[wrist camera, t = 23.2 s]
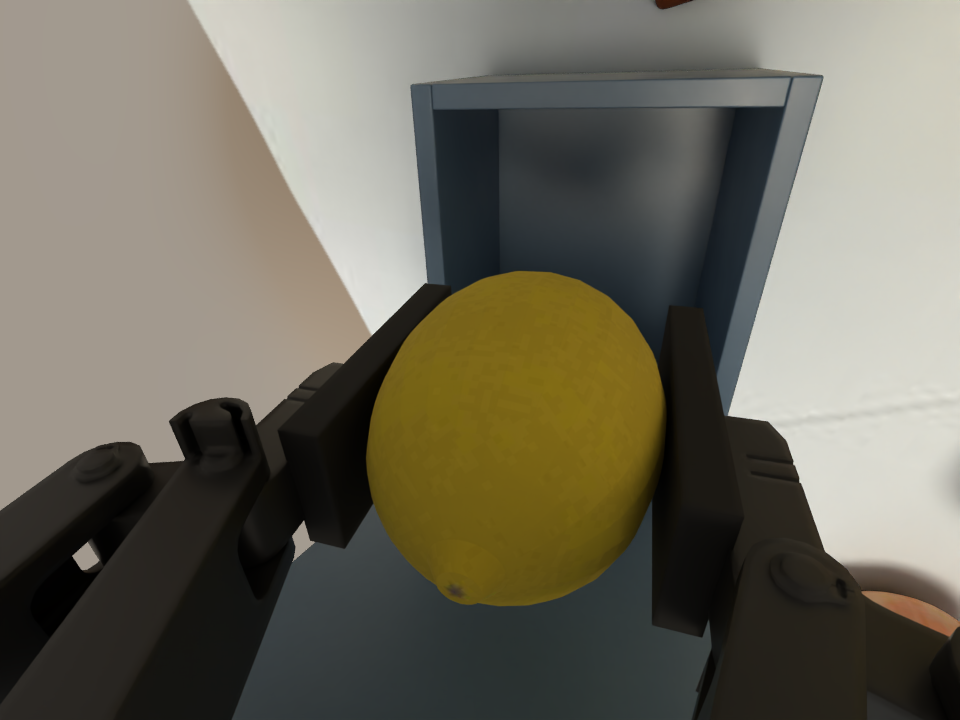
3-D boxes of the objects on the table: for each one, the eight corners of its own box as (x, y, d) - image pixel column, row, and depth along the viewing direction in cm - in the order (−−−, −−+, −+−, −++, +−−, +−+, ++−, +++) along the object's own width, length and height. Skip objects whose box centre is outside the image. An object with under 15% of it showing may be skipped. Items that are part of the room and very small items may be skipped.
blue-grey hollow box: (487, 75, 25) (409, 84, 17) (762, 68, 22) (824, 75, 14) (491, 344, 33) (440, 436, 25) (693, 368, 30) (708, 483, 22)
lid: (121, 708, 9) (144, 995, 11) (935, 1029, 6) (810, 1382, 7) (437, 434, 25) (429, 566, 26) (711, 481, 21) (685, 629, 23)
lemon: (506, 182, 12) (322, 348, 5) (712, 297, 12) (786, 608, 5) (427, 351, 15) (253, 584, 8) (588, 441, 15) (539, 744, 8)
